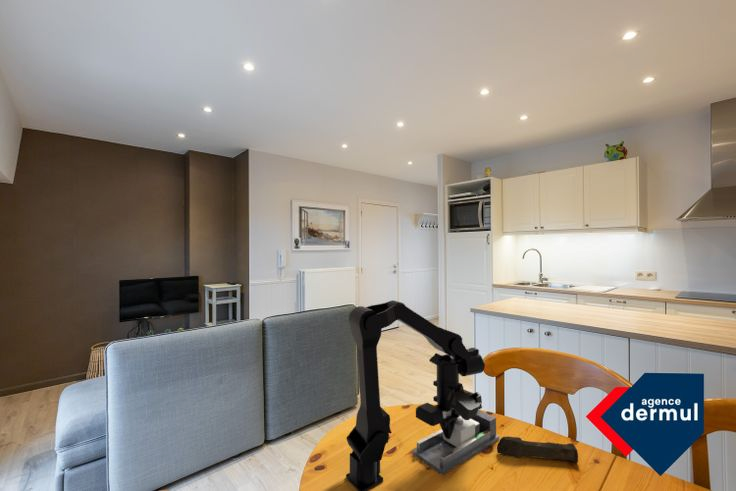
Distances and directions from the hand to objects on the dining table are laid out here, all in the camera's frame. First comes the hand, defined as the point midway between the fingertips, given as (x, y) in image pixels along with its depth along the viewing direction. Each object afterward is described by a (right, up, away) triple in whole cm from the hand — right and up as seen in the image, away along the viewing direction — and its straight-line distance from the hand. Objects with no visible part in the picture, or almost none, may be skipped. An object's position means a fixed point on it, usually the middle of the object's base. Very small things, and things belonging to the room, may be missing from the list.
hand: (448, 438), depth 86 cm
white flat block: (+7, -2, +5) cm, 9 cm away
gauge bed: (+3, -4, +2) cm, 5 cm away
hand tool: (+22, -4, -3) cm, 23 cm away
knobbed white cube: (+4, -2, +3) cm, 5 cm away
